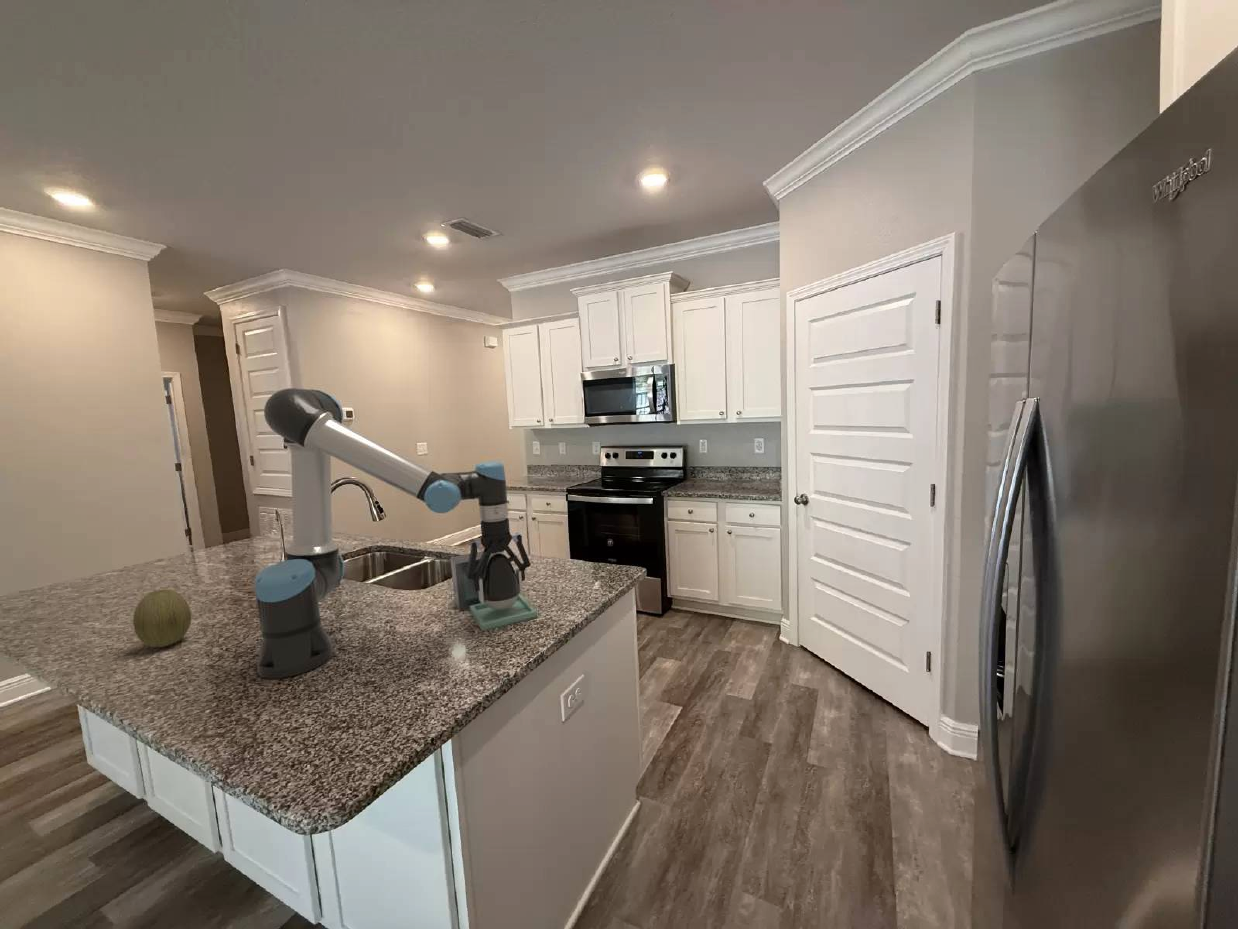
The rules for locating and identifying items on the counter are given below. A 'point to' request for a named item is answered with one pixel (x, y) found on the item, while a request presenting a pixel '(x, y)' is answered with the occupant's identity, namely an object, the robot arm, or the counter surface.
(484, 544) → the robot arm
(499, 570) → the pump dispenser
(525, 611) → the tray
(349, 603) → the counter surface
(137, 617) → the fruit
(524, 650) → the counter surface
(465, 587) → the unit
